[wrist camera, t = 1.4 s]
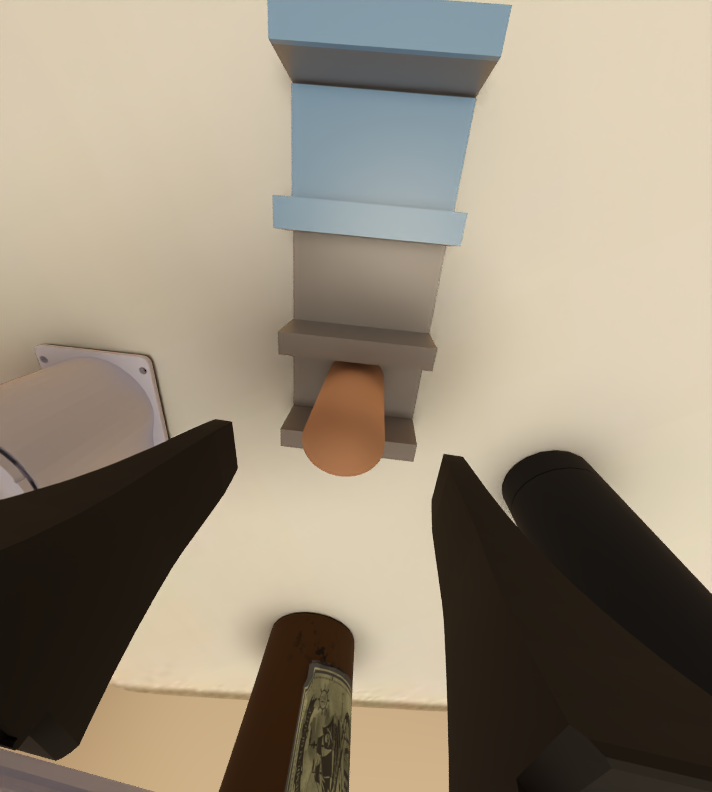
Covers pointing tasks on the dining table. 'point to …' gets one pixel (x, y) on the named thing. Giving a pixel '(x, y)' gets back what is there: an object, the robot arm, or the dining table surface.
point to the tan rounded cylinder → (347, 420)
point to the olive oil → (297, 712)
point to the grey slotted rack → (375, 184)
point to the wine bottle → (613, 558)
